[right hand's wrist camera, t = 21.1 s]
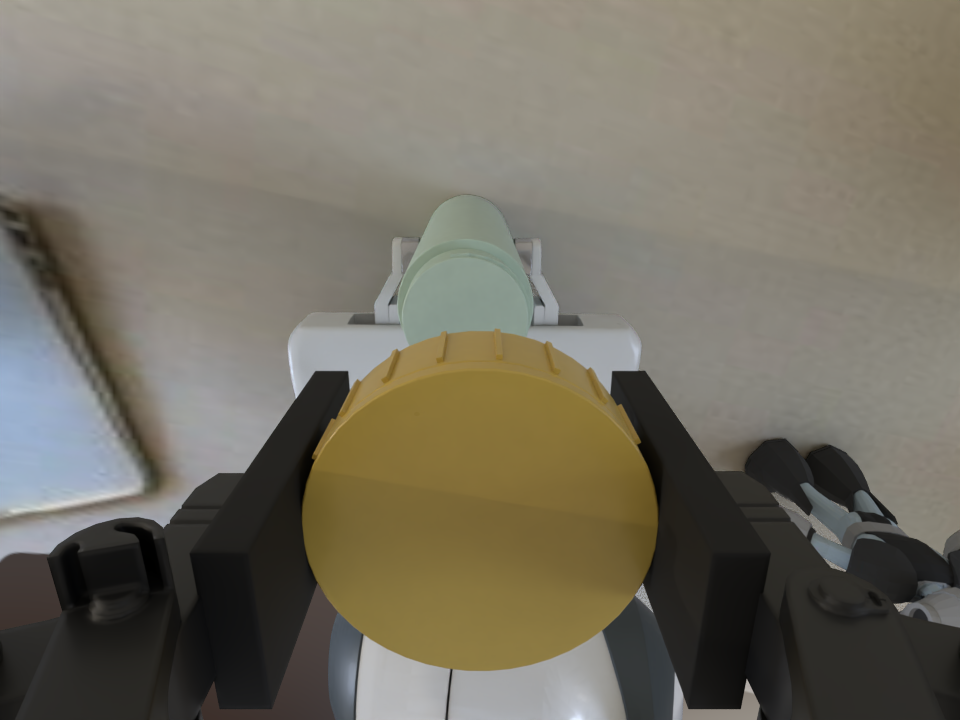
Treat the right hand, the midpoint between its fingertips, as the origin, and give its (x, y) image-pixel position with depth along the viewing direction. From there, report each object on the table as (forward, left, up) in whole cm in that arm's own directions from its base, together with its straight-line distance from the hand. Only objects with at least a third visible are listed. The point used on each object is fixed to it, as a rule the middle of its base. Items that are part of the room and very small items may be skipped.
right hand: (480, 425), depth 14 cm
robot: (-30, +4, -28) cm, 41 cm away
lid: (0, 0, +4) cm, 4 cm away
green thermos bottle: (0, 0, -28) cm, 28 cm away
